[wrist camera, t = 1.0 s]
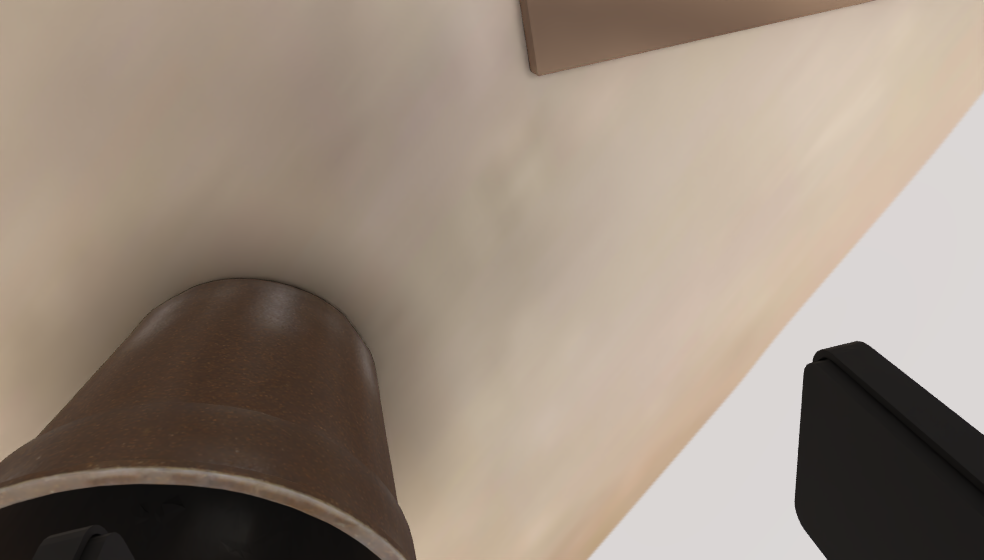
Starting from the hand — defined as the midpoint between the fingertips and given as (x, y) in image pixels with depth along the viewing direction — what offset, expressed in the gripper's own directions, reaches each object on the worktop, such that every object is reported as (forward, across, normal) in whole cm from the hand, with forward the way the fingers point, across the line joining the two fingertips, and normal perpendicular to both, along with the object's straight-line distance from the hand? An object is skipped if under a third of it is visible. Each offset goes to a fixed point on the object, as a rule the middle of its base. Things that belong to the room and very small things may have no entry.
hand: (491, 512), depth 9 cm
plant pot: (+23, +10, +11) cm, 28 cm away
